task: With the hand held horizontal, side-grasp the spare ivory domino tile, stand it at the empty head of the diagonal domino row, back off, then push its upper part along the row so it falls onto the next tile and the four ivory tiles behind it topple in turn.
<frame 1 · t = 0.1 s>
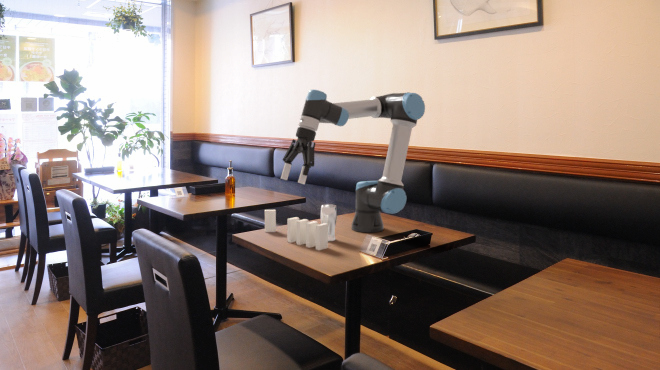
hand: (292, 181, 189), 28 cm above the table, tool tilted 20°, fingers open, 13 cm apart
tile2: (293, 241, 208), on the table
silver tall cylindrical piece: (328, 240, 211), on the table
tile4: (311, 246, 200), on the table
tile3: (302, 243, 204), on the table
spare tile: (270, 231, 224), on the table
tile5: (321, 248, 197), on the table
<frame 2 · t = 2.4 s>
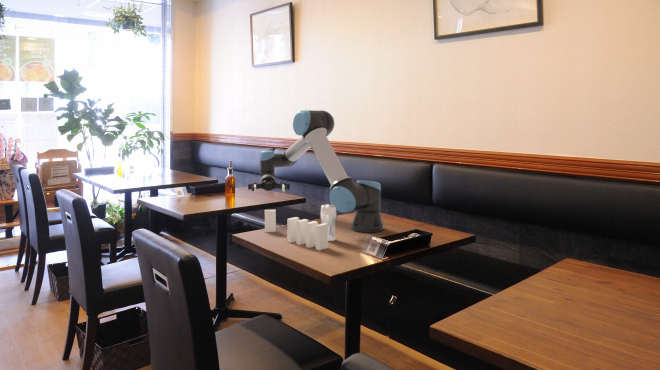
hand: (269, 189, 230), 18 cm above the table, tool horizontal, fingers open, 13 cm apart
nothing on the table moved.
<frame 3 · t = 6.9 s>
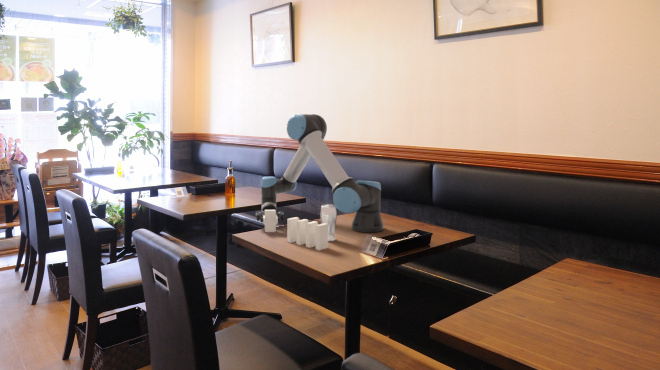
hand: (270, 221, 218), 6 cm above the table, tool horizontal, fingers closed on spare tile, 5 cm apart
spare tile: (270, 231, 224), on the table, touching gripper
everything else where it was.
when the fingers open (7 cm above the table, at t = 11.8 s): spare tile stays where it is, on the table.
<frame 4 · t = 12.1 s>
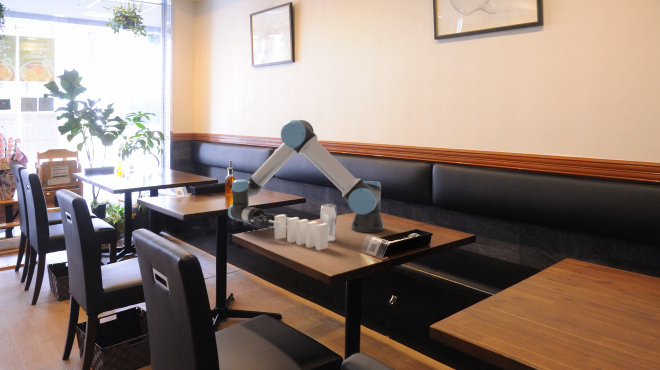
hand: (287, 223, 209), 7 cm above the table, tool horizontal, fingers open, 9 cm apart
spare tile: (280, 237, 213), on the table
everything else where it was.
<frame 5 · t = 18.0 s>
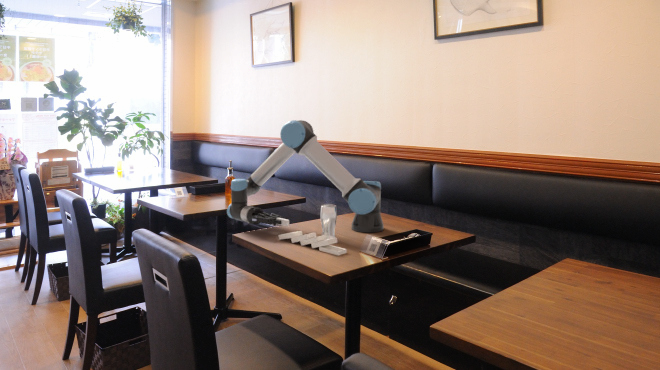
hand: (287, 223, 208), 7 cm above the table, tool horizontal, fingers closed
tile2: (295, 239, 206), point 1 cm above the table, tilted 69°, touching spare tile, tile3
tile4: (316, 244, 198), point 1 cm above the table, tilted 70°, touching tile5
tile3: (305, 242, 203), point 1 cm above the table, tilted 70°, touching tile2
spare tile: (283, 236, 212), point 1 cm above the table, tilted 74°, touching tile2
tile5: (323, 248, 196), on the table, tilted 90°, touching tile4
everything else where it was.
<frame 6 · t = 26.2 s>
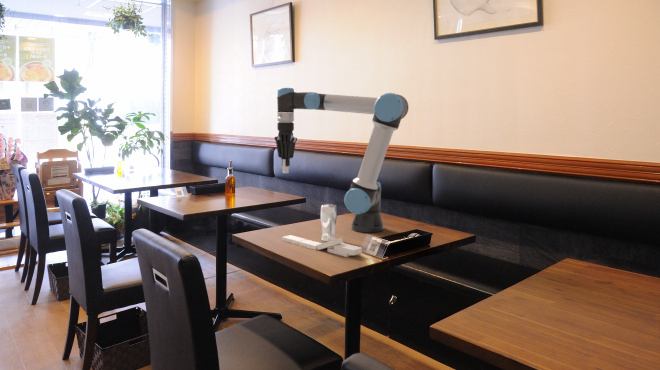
hand: (285, 172, 227), 26 cm above the table, tool pointing down, fingers closed
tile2: (302, 242, 203), on the table, tilted 90°
tile4: (338, 246, 192), point 2 cm above the table, tilted 90°, touching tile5
tile3: (321, 246, 196), point 1 cm above the table, tilted 66°
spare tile: (286, 238, 210), on the table, tilted 90°
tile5: (331, 249, 194), on the table, tilted 90°, touching tile4
everything else where it was.
at the end: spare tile inside the target area (2.3 cm from its centre), point 0.5 cm above the table; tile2 tilted 90°; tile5 tilted 90° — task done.
